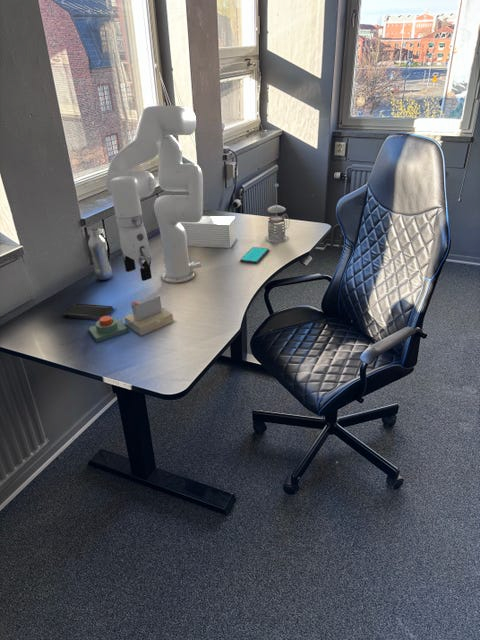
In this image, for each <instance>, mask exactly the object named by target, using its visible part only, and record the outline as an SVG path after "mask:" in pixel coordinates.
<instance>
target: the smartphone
mask: <svg viewBox="0 0 480 640" xmlns="http://www.w3.org/2000/svg"><path fill="white" fill-rule="evenodd" d="M269 250H270V249H269V247H268V248H266V247H257V246H256V247H255V246H253V247H251V248H250V249H249V251H247V252H246V253H245V255H243V256H242V257H241V258H240V262H241V263H249V264H258V263H259V262H260V261H261V260H262V258H264V257H265V255H267V253H269Z"/></svg>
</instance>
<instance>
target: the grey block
mask: <svg viewBox="0 0 480 640" xmlns="http://www.w3.org/2000/svg"><path fill="white" fill-rule="evenodd" d="M130 304H131V305H130V306H131V311H132V313H133V316H134V319H135V320H137V321H140V320H142V319H145V318H147V317H150V316H152V315H155V314H157V313H159V312H162V308H163V307H162V302H161V296H160V295H158V294H156V293H154V294H152V295H149V296H147V297H144V298H142V299H139V300H136V301H132V302H131V303H130ZM161 307H162V308H161Z"/></svg>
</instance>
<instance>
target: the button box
mask: <svg viewBox="0 0 480 640" xmlns="http://www.w3.org/2000/svg"><path fill="white" fill-rule="evenodd" d="M111 318H112V324H110V325H107V326H101V324H100V320H96V322H95V325H91V326H89V327H87V329H88V333H89V334H90V335H91V336H92V337H93V339H94V341H95V342H96V343H98V342H102V341H105V340H108V339H111V338H113V337H114V338H115V337H117V336H119V335H123V334H125V333H128V327H127V325H126V324H124V322H122V320H120V318H119V317H117V318H116V317H112V316H111Z"/></svg>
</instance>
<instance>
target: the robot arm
mask: <svg viewBox="0 0 480 640" xmlns="http://www.w3.org/2000/svg"><path fill="white" fill-rule="evenodd" d="M196 128H197V117H196V114H195V112H194V110H193V109H192V108H190V107H186V106H182V105H181V106H180V105H151V106H147V107H145V108H144V109H143V110H141V113H140V115H139V118H138V122H137V125H136V128H135V131H134V134H133V138H132V140H131V142H129V143H128V144H126V145H125V146H123V148H122V149H120V150H119V151H118V152H116V153H115V155H114V156H113V157H112V159H111V161H110V164H109V165H108V169H107V172H106V177H105V187H106V190H107V192H108V194H110V195H111V197H112V203H113V208H114V215H115V220H116V226H117V229H118V235H119V243H118V245H119V247H120V252H121V254H122V259H123V263H124V268H125V272H126V273H128V272H132V271H135V270H136V269H137V267H136V262H137V263H138V265H139V266H140V268H139V272H140V278H141V281H143V282H144V281H148V280H151V279H152V277H153V276H152V270H151V266H152V254H151V248H150V243H149V239H148V234H147V230H146V228H145V226H144V224H145V223H144V218H143V210H142V203H141V199H144V198H148V197H150V196H152V194H153V193H154V192H155V190H156V185H157V183H156V178H155V176H154V174H153V173H151V172H150V171H147V170H131V169H132V168H134V167H136V166H139V165H141V164H145V163H147V162H149V161H152V160H153V159H155V158H156V157H157V170H158V171H157V177H158V179H157V180H158V186H159V188H160V189H161V190H162V191H165V192H187V193H188V194H187V195H186V194H185V195H184V194H182V195H180V194H165V195H161V196H158V197H157V198H156V199H155V200H154V203H153V211H154V215H155V218H156V221H157V225H158V229H159V235H160V241H161V247H162V248H161V249H162V255H163V256H162V257H163V264H164V271H163V272H162V274H161V278H162V280H163V281H164V282H166V283H170V284H180V283H184V282H187V281H191V280H192V279H193V278H194V277H195V271H194V270H195V269H199V268H201V267H202V264H201V262H195V261H192V262H190V257H189V246H187V237H186V231H185V229H184V227H183V226H182V224H181V223H180V222H198V221H200V220H201V218H202V216H203V215H204V214H203V213H204V176H203V171H202V169H201V166H199V165H198V164H196V163H183V149H182V147H181V145H180V143H179V142H178V140H177V139H176V138H175V137H174V136H191V135H192V134H194V132H195V131H196Z"/></svg>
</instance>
